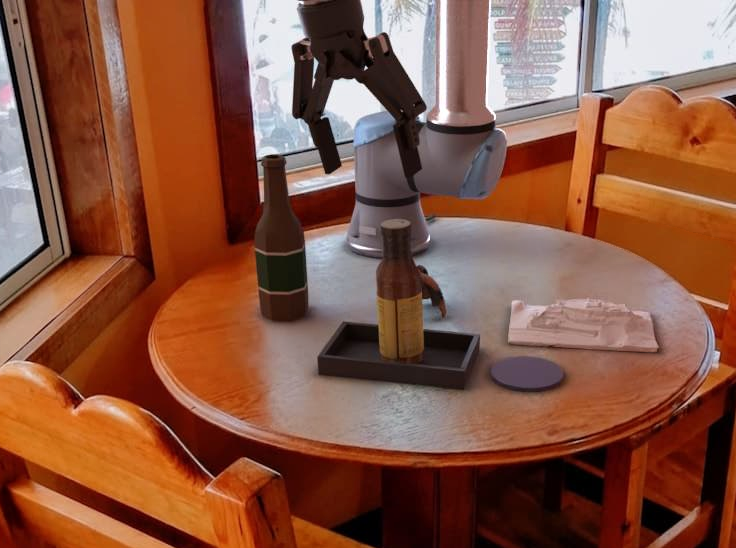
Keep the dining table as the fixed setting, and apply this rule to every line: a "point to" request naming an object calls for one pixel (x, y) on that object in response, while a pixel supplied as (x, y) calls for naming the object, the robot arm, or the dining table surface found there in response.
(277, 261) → the beer bottle
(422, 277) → the brown broken pot
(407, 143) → the robot arm
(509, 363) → the coaster
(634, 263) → the dining table surface
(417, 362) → the sauce bottle
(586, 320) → the terrain model
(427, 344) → the tray
